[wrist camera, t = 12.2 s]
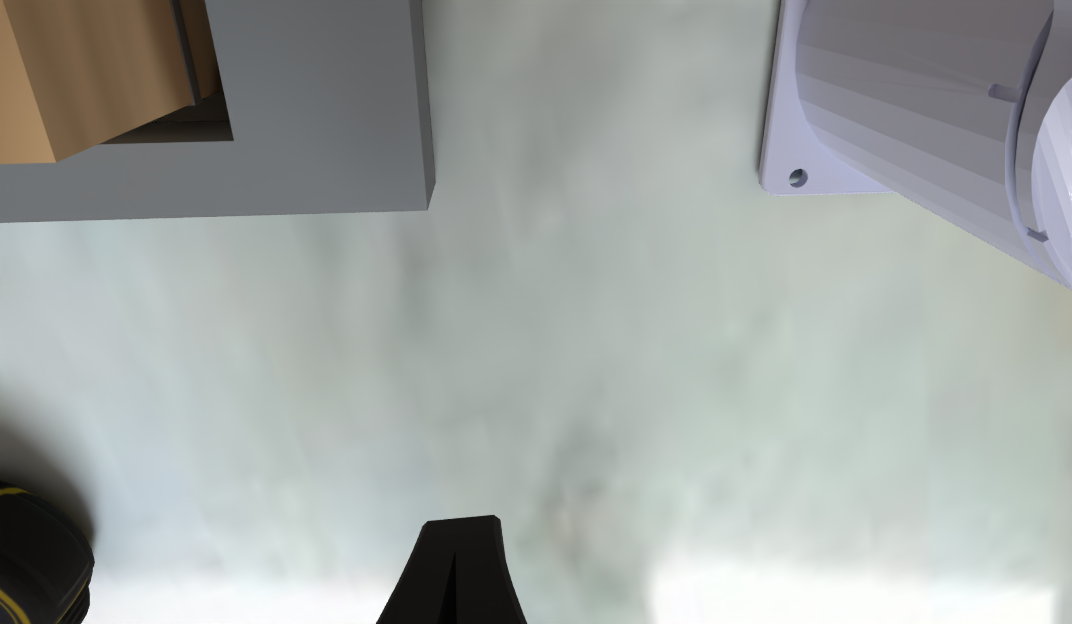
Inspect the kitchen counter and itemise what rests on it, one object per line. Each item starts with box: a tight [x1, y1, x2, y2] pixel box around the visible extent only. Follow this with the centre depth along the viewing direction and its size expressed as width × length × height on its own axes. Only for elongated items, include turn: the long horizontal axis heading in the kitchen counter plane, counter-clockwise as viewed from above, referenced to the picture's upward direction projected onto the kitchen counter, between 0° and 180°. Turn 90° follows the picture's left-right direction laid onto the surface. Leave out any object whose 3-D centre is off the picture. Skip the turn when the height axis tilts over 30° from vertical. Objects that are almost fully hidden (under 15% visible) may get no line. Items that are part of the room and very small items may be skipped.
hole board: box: [0, 0, 436, 223], centre depth 16 cm, size 14×9×2 cm, turn 91°
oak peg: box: [0, 0, 223, 164], centre depth 13 cm, size 4×4×8 cm
